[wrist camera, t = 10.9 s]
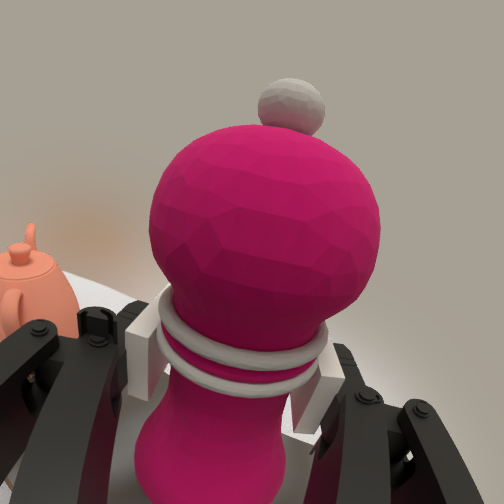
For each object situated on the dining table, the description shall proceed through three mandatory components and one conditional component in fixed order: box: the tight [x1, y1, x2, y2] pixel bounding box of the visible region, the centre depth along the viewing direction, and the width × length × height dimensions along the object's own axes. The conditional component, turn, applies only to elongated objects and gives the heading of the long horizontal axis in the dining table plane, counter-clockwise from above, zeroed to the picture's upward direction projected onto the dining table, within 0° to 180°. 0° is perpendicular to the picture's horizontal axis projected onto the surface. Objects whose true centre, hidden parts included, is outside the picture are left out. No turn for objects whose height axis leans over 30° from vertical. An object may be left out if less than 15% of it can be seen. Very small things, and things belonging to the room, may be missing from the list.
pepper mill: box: [134, 78, 380, 504], centre depth 9 cm, size 7×7×20 cm
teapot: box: [0, 223, 80, 342], centre depth 24 cm, size 22×16×12 cm
